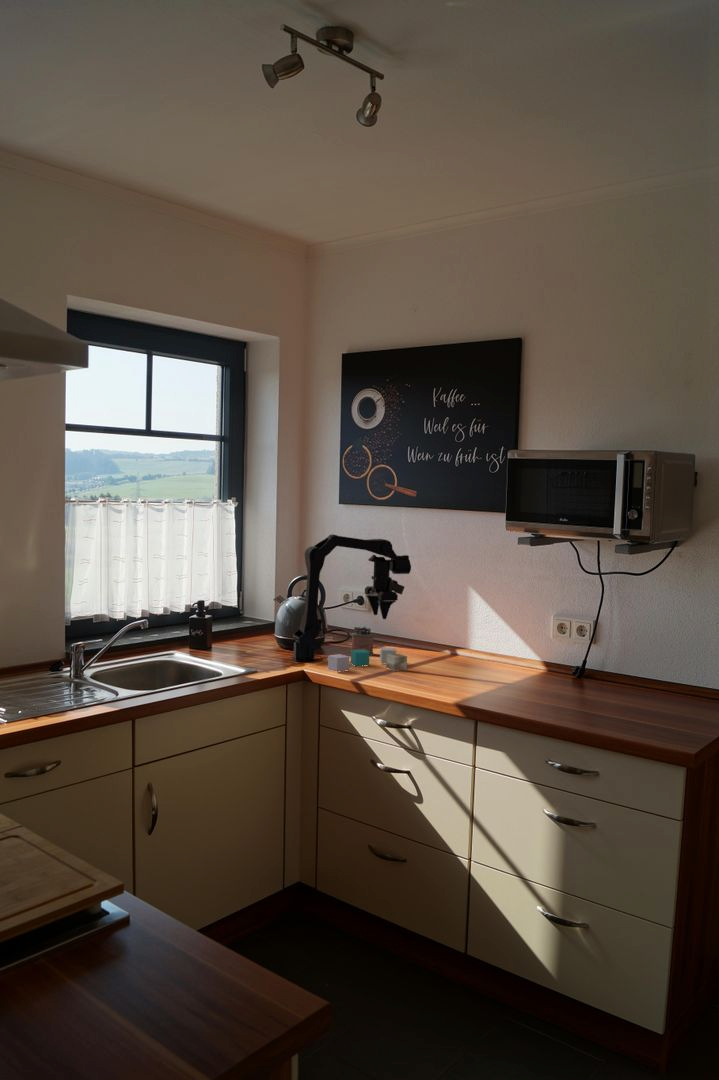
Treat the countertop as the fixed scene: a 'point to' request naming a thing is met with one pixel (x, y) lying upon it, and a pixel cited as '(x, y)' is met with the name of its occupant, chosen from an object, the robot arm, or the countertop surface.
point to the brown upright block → (362, 639)
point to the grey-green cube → (396, 662)
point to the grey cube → (386, 651)
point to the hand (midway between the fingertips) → (379, 617)
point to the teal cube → (360, 657)
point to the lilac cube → (338, 662)
